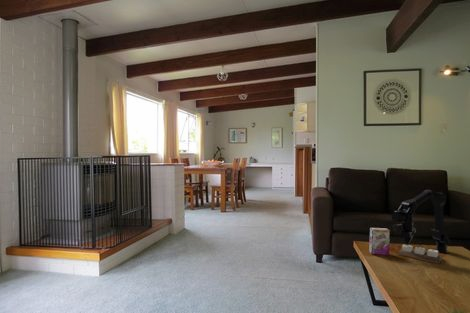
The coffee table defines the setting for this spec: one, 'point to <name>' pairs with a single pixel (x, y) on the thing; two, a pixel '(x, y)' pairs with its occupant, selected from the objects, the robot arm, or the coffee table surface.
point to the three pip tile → (407, 248)
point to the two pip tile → (419, 250)
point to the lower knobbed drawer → (432, 253)
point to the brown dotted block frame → (420, 256)
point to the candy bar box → (379, 241)
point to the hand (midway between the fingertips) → (407, 245)
